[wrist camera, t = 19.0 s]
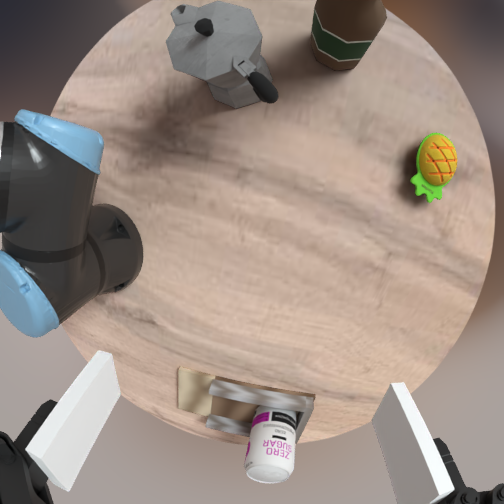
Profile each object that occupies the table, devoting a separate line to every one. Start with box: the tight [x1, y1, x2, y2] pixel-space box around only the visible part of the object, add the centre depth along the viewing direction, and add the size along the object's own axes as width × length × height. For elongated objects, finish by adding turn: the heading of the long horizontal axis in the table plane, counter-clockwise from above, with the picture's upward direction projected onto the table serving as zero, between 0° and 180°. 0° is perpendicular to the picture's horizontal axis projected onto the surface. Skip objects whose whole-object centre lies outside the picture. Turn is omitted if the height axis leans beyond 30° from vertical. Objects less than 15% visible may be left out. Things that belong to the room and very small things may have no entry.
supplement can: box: [244, 405, 296, 483], centre depth 43 cm, size 8×8×15 cm
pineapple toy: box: [410, 133, 457, 203], centre depth 32 cm, size 7×10×5 cm
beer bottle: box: [311, 0, 387, 71], centre depth 20 cm, size 8×8×24 cm
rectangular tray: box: [178, 367, 315, 444], centre depth 49 cm, size 26×12×4 cm, turn 81°
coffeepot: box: [166, 1, 278, 109], centre depth 27 cm, size 15×9×18 cm, turn 40°
